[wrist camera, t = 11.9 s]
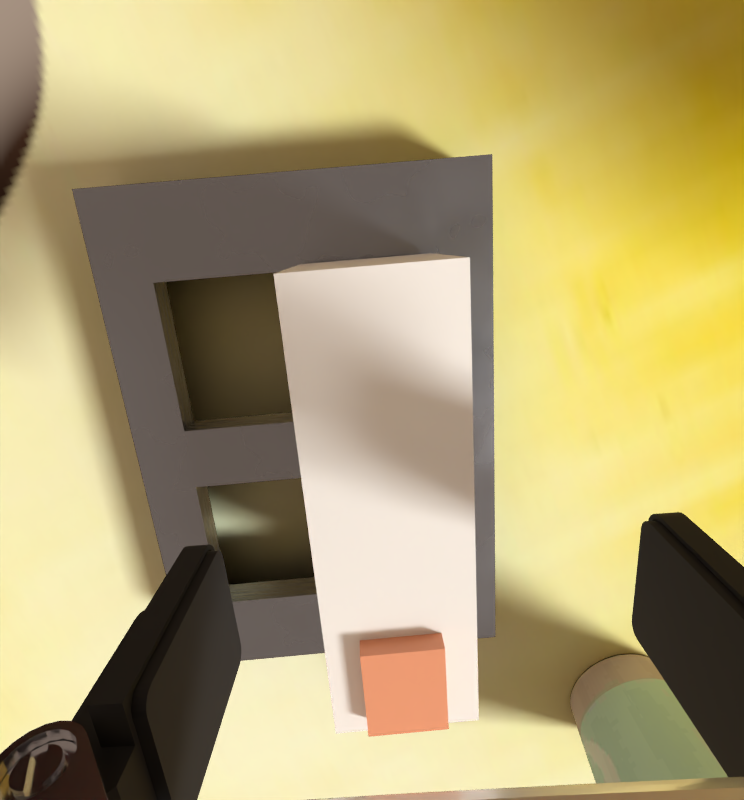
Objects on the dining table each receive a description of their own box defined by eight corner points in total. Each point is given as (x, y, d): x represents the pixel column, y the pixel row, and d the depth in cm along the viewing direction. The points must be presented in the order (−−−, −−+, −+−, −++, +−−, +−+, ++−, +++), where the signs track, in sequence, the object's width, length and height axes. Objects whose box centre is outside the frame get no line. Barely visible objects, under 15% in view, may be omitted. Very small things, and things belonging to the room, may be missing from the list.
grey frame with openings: (470, 168, 20) (492, 154, 17) (478, 590, 26) (495, 636, 23) (116, 197, 19) (72, 189, 16) (208, 615, 25) (188, 665, 22)
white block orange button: (417, 251, 20) (476, 257, 11) (432, 543, 25) (483, 738, 15) (309, 261, 20) (269, 275, 11) (342, 551, 25) (335, 751, 15)
